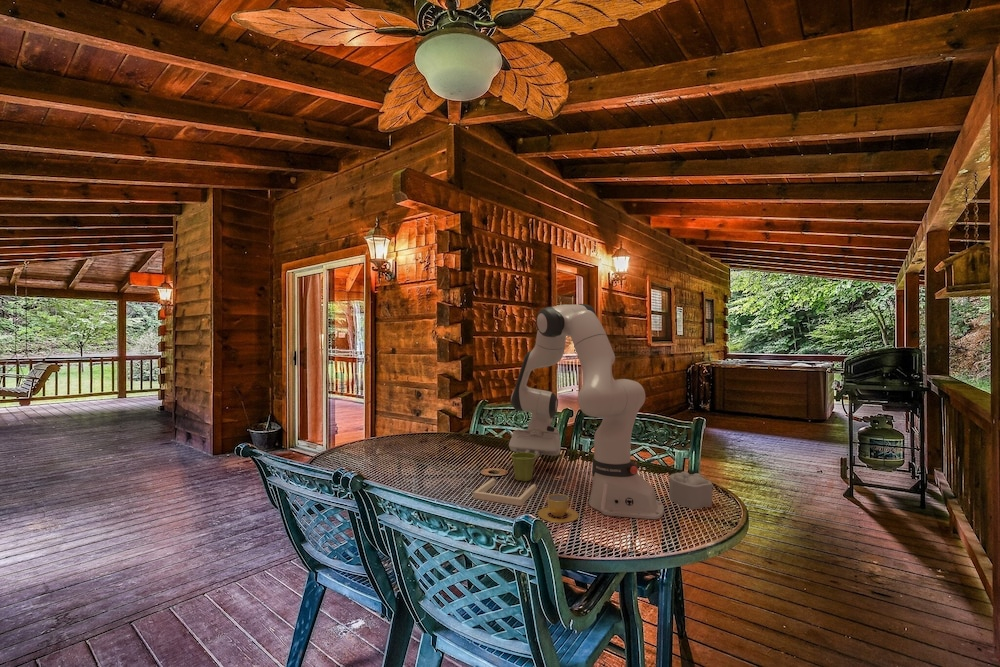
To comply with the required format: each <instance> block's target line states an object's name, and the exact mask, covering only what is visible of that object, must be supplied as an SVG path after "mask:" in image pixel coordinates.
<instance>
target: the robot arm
mask: <svg viewBox="0 0 1000 667" xmlns="http://www.w3.org/2000/svg"><path fill="white" fill-rule="evenodd" d="M535 322H536V328H537V332H536V337H535V338H536V339H535V345H534V347H533V349H532V350H529V351H527V353H526V354H525V356H524V359H523V361H522V364H521V367H520V370H519V374H518V377H517V381H516V384H515V387H514V389H513V391H512V393H511V395H510V404H511V406H512V407H513V409H514V410H515V411H516V412H526V413H531V418H530V419H529V421H528V425H527V429H516V430H514V431H513V432H512V434H511V438H510V440H509V442H508V447H509V449H510V451H511V452H515V453H520V452H526V453H532V454H535V455H536V458H535V461H534V464H535V463H536V460H537V459H538V458H539V457H540V455H543V456H544V455H545V456H553V457H558V456H559V455H560V453H561V447H562V446H561V435H560V434H561V433H560V432H559V429H558V428H557V427H554V426H552V424H551V423H552V422H553V420H554V418H555V416H556V415H557V411H558V407H559V399H558V397H557V396H556V394H555V393H554V392H552V391H550V390H546V389H545V390H543V389H538V388H533V387H529V386H528V385H527V384H528V380H529V378H530V375H531V372H532V371H533V370H537V369H540V368H547V367H551V366H554V365H557V364H558V363H560V362H561V360H562V359H563V356H564V354H565V353H564V352H565V347H566V341H567V338H566V337H570V338H571V340H572V344H573V346H574V349H575V352H576V356H577V358H578V360H579V363H580V367H581V371H582V386H581V388H580V390H579V392H578V395H577V402H578V407H579V409H580V410H581V412H582V413H583V414H584V415H585V416H588V417H594V418H600V419H601V418H602V421H601V423H600V425H599V426H598V428H597V429H596V431H595V433H594V439H593V445H594V446H593V458H592V464H591V473H592V477H593V478H592V485H591V486H592V487H591V492H590V495H589V499H588V505H589V507H591V508H593V509H594V510H597V511H599V513H601V514H602V515H604V516H609V517H610V516H611V517H620V518H621V517H622V518H633V519H646V520H657V519H658V520H659V519H660V518H662V517H663V515H664V514H665V506H664V504H663V503H662V502H661V501H660V500H657V496H656V495H657V494H656V492H655V491H656V490H655V489H654V487H653V486H652V484H650V483H649V482H648V481H646V480H645V479H644V478H643V477H642V476H641V475H639V473H638V471H639V470H638V463H637V461H635V462H634V461H633V460H631V450H632V449H631V445H632V433H633V429H634V425H635V422H636V419H637V416H638V413H639V411H640V409H641V408H642V407H643V405H644V404H645V401H646V391H645V388H644V387H643V386H642V384H641V383H639V381H635V380H632V379H628V378H619V379H618V378H617V379H615V378H614V375H613V365H614V363H615V361H616V356H615V355H616V354H615V353H614V350H613V347H612V345H611V343H610V340H609V338H608V335H607V333H606V330H605V328H604V326H603V325H602V323H601V321H600V319H599V318H598V316H597V313H596V310H595V308H594V307H593V306H591V305H590V304H585V303H579V304H575V303H574V304H559V305H554V306H547V307H544V308H541V309H540V310H539V311H538V313H537V315H536V320H535Z"/></svg>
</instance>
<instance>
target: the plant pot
mask: <svg viewBox="0 0 1000 667" xmlns="http://www.w3.org/2000/svg"><path fill="white" fill-rule="evenodd" d="M510 458H511V461H512V466H513V472H514V479H515V480H516V481H521V482H529V481H531V480H532V479H533V472H534V464H535V463H534V461H535V462H536V460H535V458H536V455H535V454H534V453H526V452H514V453H512V454H510Z"/></svg>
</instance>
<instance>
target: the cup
mask: <svg viewBox="0 0 1000 667" xmlns="http://www.w3.org/2000/svg"><path fill="white" fill-rule="evenodd" d="M546 498H547V500H546V501H547V506H546V507H544V508H541V509H539V510H538V512H537V515H538V517H540V519H542V520H543V521H544V520H545V521H547V522H551V523H557V524H558V523H562V524H563V523H565V524H566V523H571V522H574V521H575V520H577V519H578V518H579V516H580V515H579V512H578V511H577V510H575V509H572V508H569V504H570V496H568V495H566V494H562V493H551V494H548V496H546ZM549 513H551V516H553V517H551V516H550V515H549ZM565 514H568V516H567V517H565V518H562V517H564V516H565ZM554 517H557V518H554Z"/></svg>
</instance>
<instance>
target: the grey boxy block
mask: <svg viewBox="0 0 1000 667" xmlns="http://www.w3.org/2000/svg"><path fill="white" fill-rule="evenodd" d="M668 478H669V481H668V482H669V484H668V488H669V489H668V490H669V492H668V494H669V497H668V498H670V499H669V500H670V502H672V503H673V502H674V504H675V503H676V504H675V505H677V504H678V506H680V505H681V506H680V507H682V506H684V507H683V508H685V507H687V508H686V509H688V508H690V509H689V510H692V509H700V510H702V509H701V508H703V507H709V506H712V507H713V483H712V481H710V480H708V479H706V478H704V477H703V475H702V474H700V473H693V474H692V473H691V474H690V473H689V472H688V471H685V470H684V471H681V472H675V473H671V474H670V475H669V477H668ZM703 509H704V508H703Z"/></svg>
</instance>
